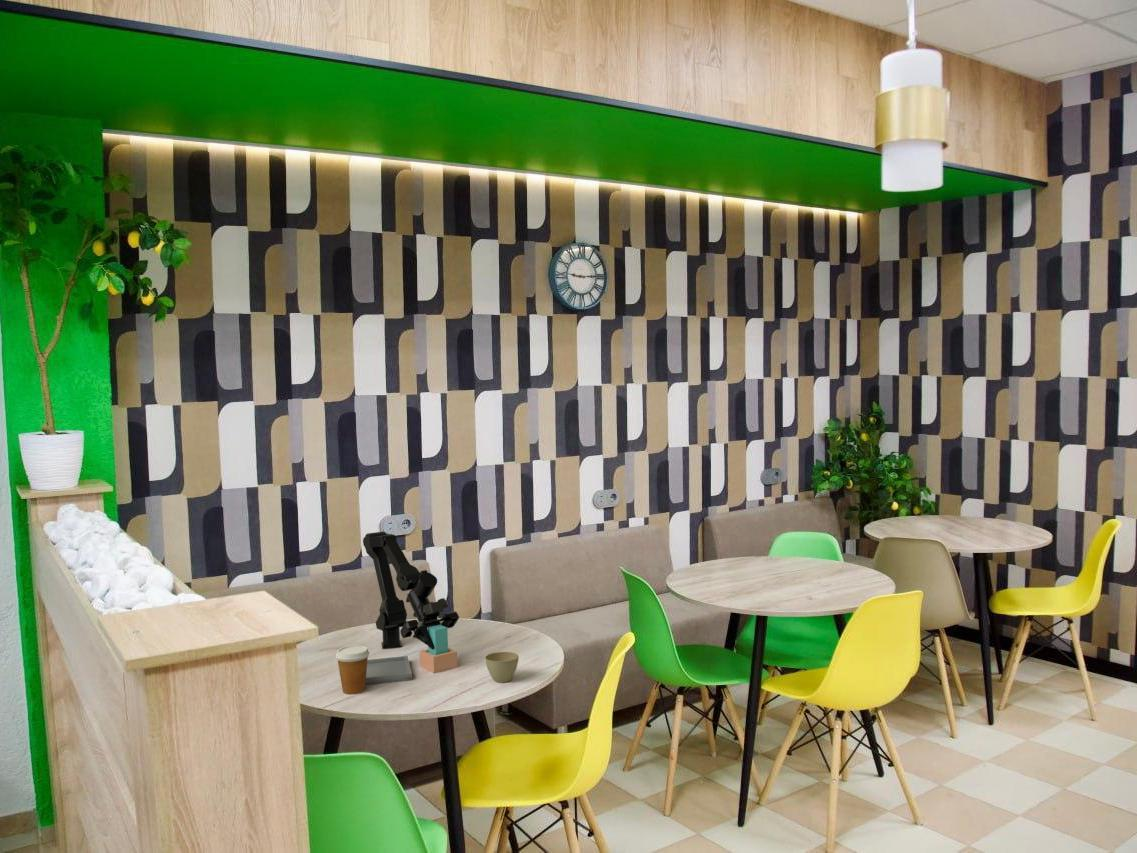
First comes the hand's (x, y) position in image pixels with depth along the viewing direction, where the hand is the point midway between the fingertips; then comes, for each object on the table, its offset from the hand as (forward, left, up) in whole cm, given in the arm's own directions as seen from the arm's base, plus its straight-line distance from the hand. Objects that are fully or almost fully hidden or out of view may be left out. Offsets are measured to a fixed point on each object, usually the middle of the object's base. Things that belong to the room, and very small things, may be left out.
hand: (440, 647), depth 283 cm
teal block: (-1, -1, -7) cm, 7 cm away
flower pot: (+17, +16, -7) cm, 24 cm away
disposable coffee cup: (+13, -27, -7) cm, 30 cm away
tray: (0, -18, -7) cm, 19 cm away
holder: (-1, -1, -7) cm, 7 cm away
